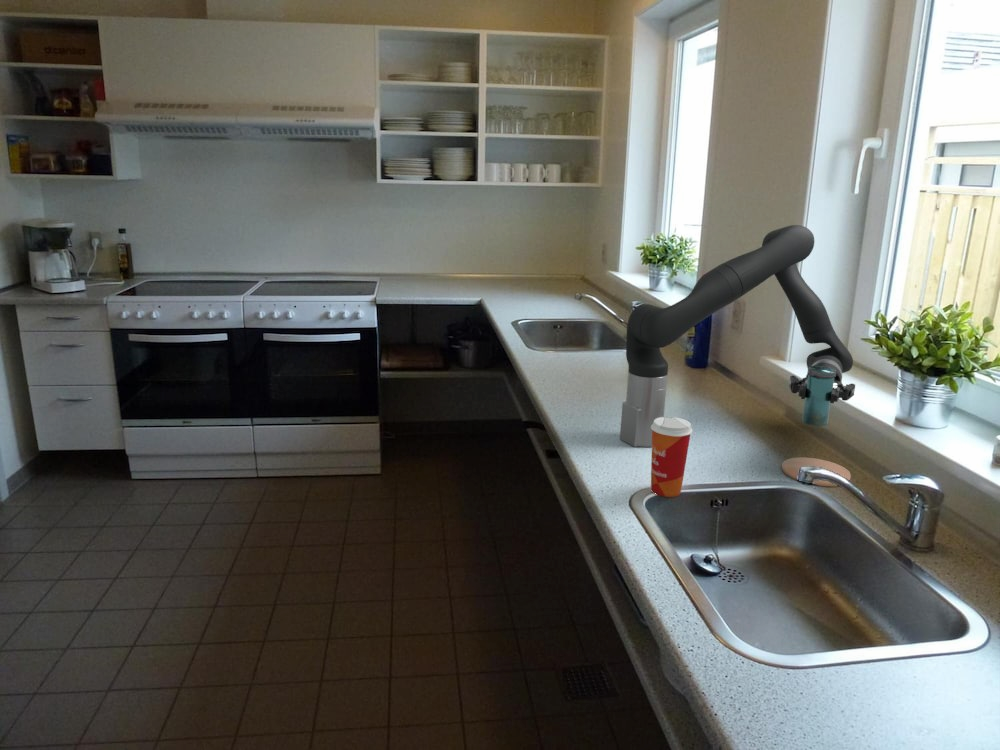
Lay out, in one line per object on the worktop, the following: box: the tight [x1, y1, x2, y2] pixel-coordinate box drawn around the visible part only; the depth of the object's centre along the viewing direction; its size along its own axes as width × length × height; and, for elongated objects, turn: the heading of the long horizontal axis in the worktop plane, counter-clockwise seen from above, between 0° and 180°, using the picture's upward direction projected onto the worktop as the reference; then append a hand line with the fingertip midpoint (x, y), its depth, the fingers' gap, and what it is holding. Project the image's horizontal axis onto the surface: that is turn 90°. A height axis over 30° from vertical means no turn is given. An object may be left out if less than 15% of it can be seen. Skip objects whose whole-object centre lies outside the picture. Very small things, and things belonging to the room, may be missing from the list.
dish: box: [781, 456, 852, 488], centre depth 163 cm, size 14×14×1 cm
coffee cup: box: [650, 416, 693, 498], centre depth 150 cm, size 8×8×15 cm
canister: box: [801, 366, 836, 427], centre depth 160 cm, size 6×6×12 cm
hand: (818, 396), depth 158 cm, fingers closed on canister, 5 cm apart
